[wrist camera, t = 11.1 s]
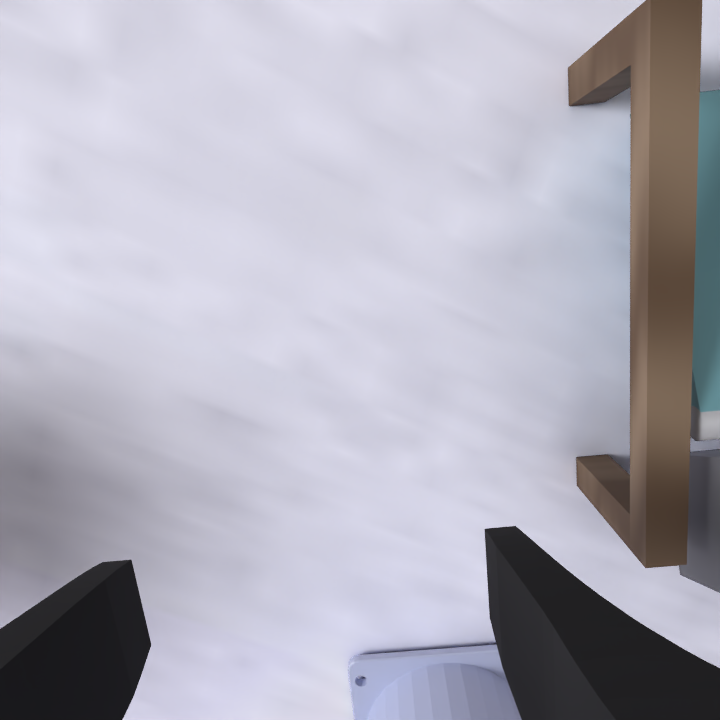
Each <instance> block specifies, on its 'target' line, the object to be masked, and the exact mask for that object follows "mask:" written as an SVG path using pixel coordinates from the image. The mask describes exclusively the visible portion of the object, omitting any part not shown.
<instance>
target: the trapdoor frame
mask: <svg viewBox="0 0 720 720" xmlns="http://www.w3.org/2000/svg"><path fill="white" fill-rule="evenodd" d="M701 26H702V0H646V1H645V2H644V3H642V4H641V5H640V6H639V7H638V8H637V9H635V10H634V11H633V12H632V13H631V14H630V15H628V16H627V17H626V18H625V19H624V20H623V21H622V22H620V23H619V24H618V25H617V26H616V27H615V28H613V29H612V30H611V31H610V32H609V33H608V34H607V35H605V36H604V37H603V38H602V39H601V40H600V41H598V42H597V43H596V44H595V45H594V46H593V47H592V48H590V49H589V50H588V51H587V52H586V53H585V54H583V55H582V56H581V57H580V58H579V59H578V60H577V61H575V62H574V63H573V64H572V65H571V66H570V67H568V86H569V106H574V105H583V104H591V103H600V102H605V101H607V100H609V99H611V98H612V97H614V96H616V95H617V94H619V93H621V92H623V91H624V90H626V89H628V88H629V87H631V195H630V475H629V474H628V473H627V472H626V471H625V470H624V469H623V468H622V467H621V466H620V465H618V464H617V463H616V462H615V461H614V460H613V459H612V458H611V457H610V456H609V455H608V454H607V455H596V456H585V457H576V464H577V486H578V487H579V489H580V490H581V491H582V492H583V493H584V495H585V496H586V497H587V498H588V499H589V501H590V502H591V503H592V504H593V505H594V507H595V508H596V509H597V510H598V511H599V513H600V514H601V515H602V516H603V517H604V519H605V520H606V521H607V522H608V523H609V525H610V526H611V527H612V528H613V529H614V531H615V532H616V533H617V534H618V535H619V537H620V538H621V539H622V540H623V542H624V543H625V544H626V545H627V546H628V548H629V549H630V550H631V551H632V552H633V554H634V555H635V556H636V557H637V558H638V560H639V561H640V562H641V563H642V564H643V566H644V567H645V568H652V567H664V566H677V565H687V540H688V503H689V467H690V430H691V393H692V357H693V320H694V283H695V247H696V210H697V173H698V136H699V100H700V63H701Z"/></svg>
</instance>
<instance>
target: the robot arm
mask: <svg viewBox="0 0 720 720" xmlns="http://www.w3.org/2000/svg"><path fill="white" fill-rule="evenodd" d="M485 542H486V559H487V577H488V594H489V611H490V620H491V624H492V628H493V632H494V636H495V640H496V644H497V645H483V646H470V647H457V648H444V649H431V650H418V651H404V652H391V653H378V654H365V655H357V656H354V657H352V658H351V659H350V661H349V665H348V674H349V682H350V689H351V697H352V705H353V712H354V720H720V668H718V667H716V666H714V665H712V664H710V663H708V662H706V661H704V660H702V659H701V658H699V657H697V656H695V655H693V654H691V653H690V652H688V651H686V650H684V649H682V648H681V647H679V646H677V645H676V644H674V643H672V642H671V641H669V640H667V639H666V638H664V637H662V636H661V635H659V634H657V633H656V632H654V631H652V630H651V629H649V628H647V627H646V626H644V625H643V624H641V623H639V622H638V621H636V620H635V619H633V618H632V617H630V616H629V615H627V614H626V613H624V612H623V611H622V610H620V609H619V608H617V607H616V606H614V605H613V604H612V603H610V602H609V601H607V600H606V599H604V598H603V597H602V596H600V595H599V594H597V593H596V592H595V591H593V590H592V589H591V588H589V587H588V586H587V585H585V584H584V583H583V582H582V581H580V580H579V579H578V578H576V577H575V576H574V575H573V574H571V573H570V572H569V571H568V570H566V569H565V568H564V567H563V566H562V565H560V564H559V563H558V562H557V561H556V560H554V559H553V558H552V557H551V556H550V555H549V554H547V553H546V552H545V551H544V550H543V549H542V548H540V547H539V546H538V545H537V544H536V543H535V542H534V541H532V540H531V539H530V538H529V537H528V536H527V535H525V534H524V533H523V532H522V531H521V530H520V529H518V528H517V527H516V526H512V527H500V528H489V529H485ZM150 647H151V642H150V638H149V633H148V629H147V625H146V620H145V616H144V612H143V608H142V603H141V599H140V595H139V590H138V586H137V582H136V578H135V573H134V569H133V565H132V560H123V561H112V562H102V563H100V564H98V565H97V566H95V567H93V568H91V569H90V570H88V571H86V572H85V573H83V574H82V575H80V576H78V577H77V578H75V579H74V580H72V581H71V582H69V583H68V584H66V585H65V586H63V587H62V588H60V589H59V590H57V591H56V592H54V593H53V594H51V595H50V596H48V597H47V598H45V599H44V600H43V601H41V602H40V603H38V604H37V605H35V606H34V607H32V608H31V609H29V610H28V611H26V612H25V613H23V614H22V615H20V616H19V617H17V618H16V619H14V620H13V621H12V622H10V623H9V624H7V625H6V626H4V627H3V628H1V629H0V720H122V719H123V717H124V715H125V713H126V711H127V709H128V707H129V705H130V702H131V700H132V698H133V696H134V693H135V691H136V688H137V685H138V682H139V680H140V677H141V674H142V671H143V668H144V665H145V662H146V659H147V656H148V653H149V650H150ZM359 676H364V677H365V678H364V679H358V678H357V677H359Z"/></svg>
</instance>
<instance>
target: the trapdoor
mask: <svg viewBox="0 0 720 720" xmlns="http://www.w3.org/2000/svg"><path fill="white" fill-rule="evenodd" d="M630 118H631V114H630ZM690 436H691V437H692V438H693V439H694V440H696V441H703V440H714V439H720V90H715V91H706V92H700V100H699V136H698V173H697V210H696V247H695V283H694V320H693V357H692V393H691V430H690ZM679 569H680V575H682V576H684V577H686V578H688V579H691V580H693V581H695V582H697V583H700V584H702V585H704V586H706V587H708V588H711V589H713V590H715V591H717V592H719V593H720V449H717V450H706V451H694V452H690V467H689V503H688V540H687V565H679Z"/></svg>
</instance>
